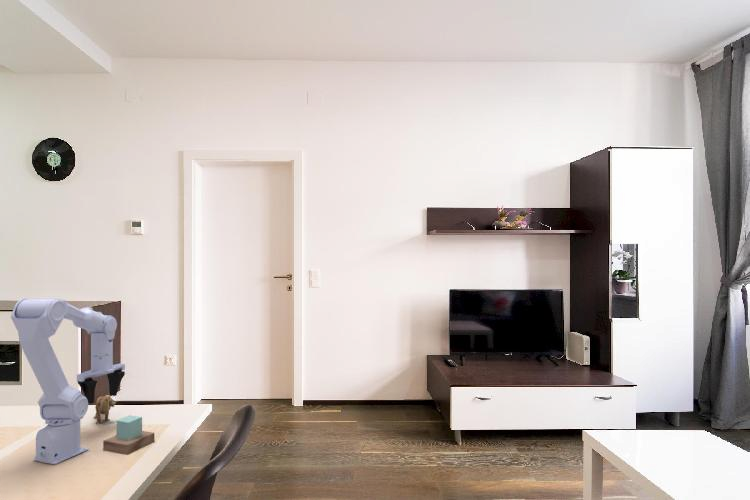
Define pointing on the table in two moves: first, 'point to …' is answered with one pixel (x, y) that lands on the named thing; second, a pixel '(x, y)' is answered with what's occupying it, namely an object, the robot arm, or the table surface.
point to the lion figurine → (103, 407)
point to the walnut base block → (128, 443)
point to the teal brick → (129, 427)
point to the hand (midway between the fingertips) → (102, 399)
